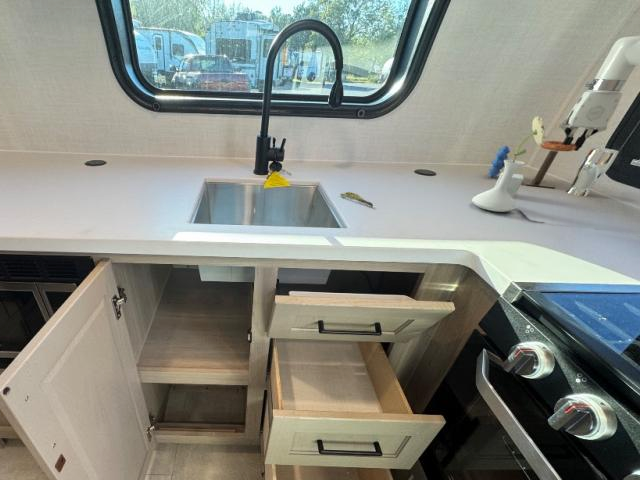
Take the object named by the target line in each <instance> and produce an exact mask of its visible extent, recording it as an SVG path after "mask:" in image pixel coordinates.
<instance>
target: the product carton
mask: <svg viewBox="0 0 640 480" xmlns="http://www.w3.org/2000/svg"><path fill="white" fill-rule="evenodd" d="M503 173H504V171H502V172H500V175H499V176H498V179H497V180H496V183H495V184H494V187H496V186H497V185H498V183H499V182H500V180H501V178H502V175H503ZM524 179H525V178H524V174H520V173H514V174H513V176H512V177H511V179H510V181H509V183H508V186H507V191H508V193H509V194H510V196H511V197H512V198H513V199H514V198H515V196H516V195H517V193H518V191H519V189H520V187H521V186H522V185H521V183H522V181H523V180H524Z"/></svg>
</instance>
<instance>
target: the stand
mask: <svg viewBox="0 0 640 480" xmlns="http://www.w3.org/2000/svg"><path fill="white" fill-rule="evenodd" d="M558 153H559V151H555V150H548V153H547V155H546V157H545V159H544V161H543V162H542V164H541V165H540V167H539V169H538V171H537V173H536V175H535V176H534V178H533V179H531V178H523V179H524V180H523V181H522V183H521V185H520V186H523V187H532V188H542V189H548V190H549V189H551V190H555V189H556V186H554V185H553V184H551V183H549V182H548V181H546V180H544V177H545V176H546V175H547V172H548V171H549V170H550V168H551V165H552V164H553V162H554V161H555V160H556V159H555V158H556V157H557V155H558Z"/></svg>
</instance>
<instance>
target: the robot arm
mask: <svg viewBox="0 0 640 480" xmlns="http://www.w3.org/2000/svg"><path fill="white" fill-rule="evenodd" d="M637 66H640V35H631V36H624V37H620V38H619V39H617V40H616V41H615V42H614V44H613V45H612V47H611V49H610V51H609V52H608V54H607V56H606V57H605V60H604V61H603V63H602V65H601V66H600V68H599V70H598V72H597V74H596V76H595V77H594V79H593V80H591V81H587V82H586V84H585V88H587V91H584V92H583V93H582V95H581V96H580V97H579V98H578V99H577V101H576V102H575V104H574V105H573V107H572V108H571V110H570V111H569V112H568V113H569V114H568V115H567V117H566V118H565V120H563V122H561V124H559V125H558V128H559V129H560V130H562V131H563V132H564V134H565V138H564V140H563V141H562V142H563V143H562V145H570V144H571V143H572V142H573V141H574V139H575V137H574V136H575V135H576V132H577V131H578V130H579V128H583V129H584V128H585V129H584V130H583V132H582V134H581V135H580V136H578V138H577V139H576V140H575V142H574V144H576V145H577V148H576V149H575V150H574V151H575V152H578V151H579V150H580V149H581V148H582V147H583V146H584V144H585V142H586V140H587V139H589V138H590V137H591V136H594V135H596V134H597V133H602V132H605V131H607V129H608V124H609V123H610V121H611V120H612V118H613V115H614V114H615V112H616V110H617V108H618V106H619V103H620V101H621V100H622V96H623V92H621V91H622V89H623V88H624V86H625V85H626V83H627V81H628V79H629V78H630V76H631V74H632V73H633V72H634V70H635V68H636V67H637Z"/></svg>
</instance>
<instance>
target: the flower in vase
mask: <svg viewBox="0 0 640 480" xmlns="http://www.w3.org/2000/svg"><path fill="white" fill-rule="evenodd" d="M531 130H532V132H531V133H530V134H529V135H528V136H526V138H525V139H523V141H522V142H521V143H520V144H519V145H518V146H517V147H516V152H515V153H514V154H513V157H514V158H513V159H510V160H504V163H505V167H504V169H503V172H504V173H503V175H502V178H501V180H500V182H499V183H498V185H497V186H496V187H495V186H494V187H493V188H491V189H488V190H485V191H483V192H480V193H479V194H477V195H475V196H473V197H472V199H471V201H472V204H473V205H475V206H476V207H478V208H480V209H483V210H487V211H491V212H496V213H497V212H498V213H505V212H512V211H514V210H515V209H516V207H517V206H516V205H517V204H516V202H515V200H514V198H512V197H511V196H510V194H509V193H508V191H507V186H508V183H509V181H510V179H511V177H512V176H513V174H516V172H517V171H518V170H519V169H520V168H521V167H522V166H524V165H526V162H525V161H522V160H517V157H518V156H521V155H525V154H526V153H527V150H526V149H523V150H521V151H519V150H520V148H521V147H522V145H523V144H524V143H525V142H526V141H527V140H528V139H529V138H531V136H533V138H534V141H535V143H536V144H537V146H539V147H541V143H542V144H544V142H545V141H544V140H547V139H546V138H547V137H546V134H545V130H546V125H545V124H544V122H543V117H540V116H539V115H536V116H535V117H534V118H533V119H532V128H531Z"/></svg>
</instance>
